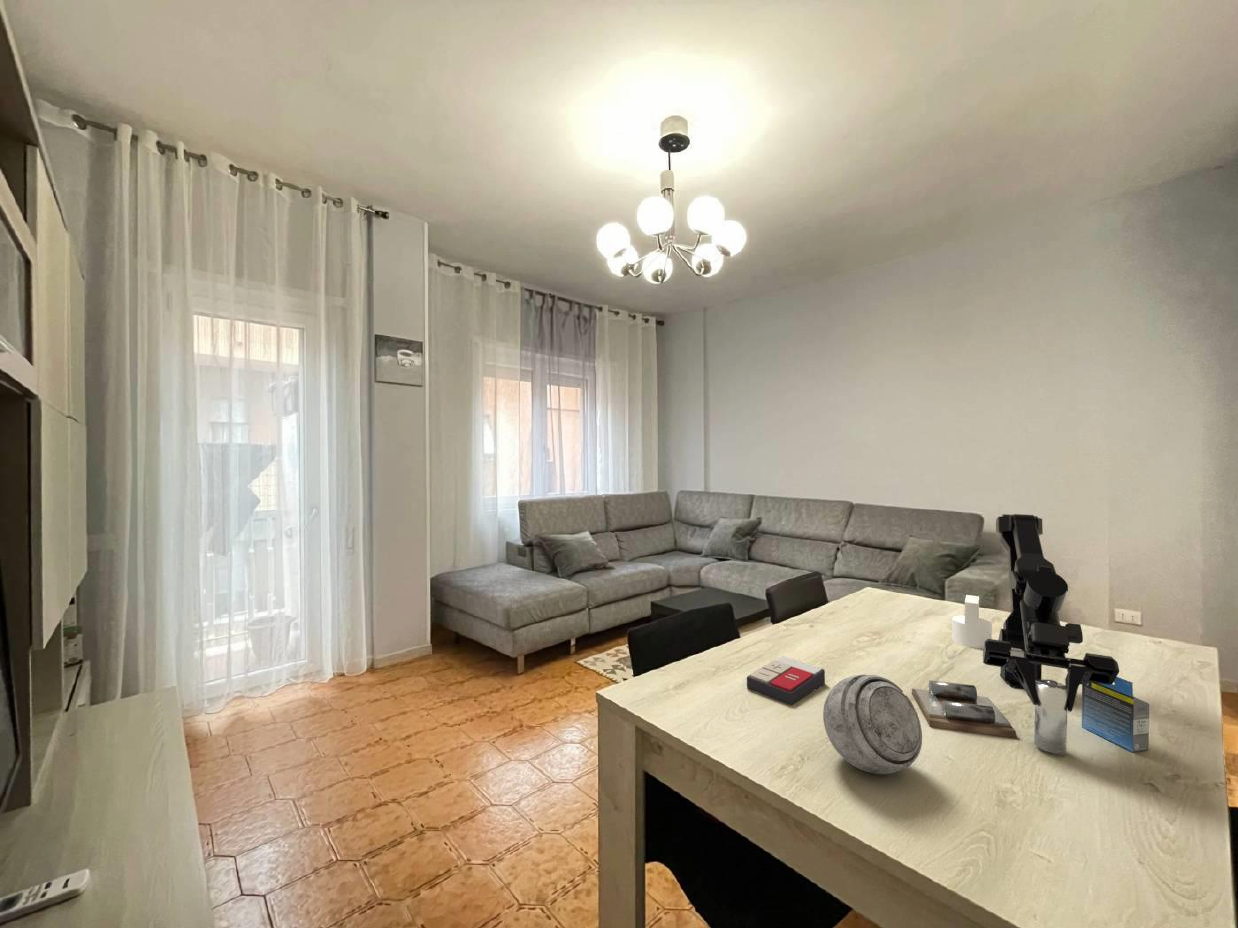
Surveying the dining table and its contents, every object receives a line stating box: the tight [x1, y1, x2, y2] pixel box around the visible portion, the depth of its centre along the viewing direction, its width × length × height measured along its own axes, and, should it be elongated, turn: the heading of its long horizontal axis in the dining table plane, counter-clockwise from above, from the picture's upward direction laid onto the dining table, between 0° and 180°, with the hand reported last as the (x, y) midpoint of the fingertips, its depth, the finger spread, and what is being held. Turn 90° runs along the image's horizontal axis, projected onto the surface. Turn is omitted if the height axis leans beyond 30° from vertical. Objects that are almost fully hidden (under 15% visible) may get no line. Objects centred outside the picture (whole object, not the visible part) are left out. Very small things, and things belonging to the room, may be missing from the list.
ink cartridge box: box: [1081, 676, 1150, 753], centre depth 96 cm, size 9×4×12 cm, turn 9°
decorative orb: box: [822, 674, 923, 775], centre depth 88 cm, size 15×14×15 cm
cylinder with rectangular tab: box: [951, 594, 993, 650], centre depth 144 cm, size 9×9×12 cm
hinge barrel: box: [1033, 678, 1068, 755], centre depth 92 cm, size 4×4×12 cm
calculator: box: [746, 655, 826, 706], centre depth 118 cm, size 11×4×15 cm
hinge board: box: [911, 688, 1017, 739], centre depth 105 cm, size 14×14×1 cm
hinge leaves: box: [914, 680, 1012, 727], centre depth 105 cm, size 13×12×3 cm
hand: (1052, 707), depth 91 cm, fingers closed on hinge barrel, 4 cm apart
